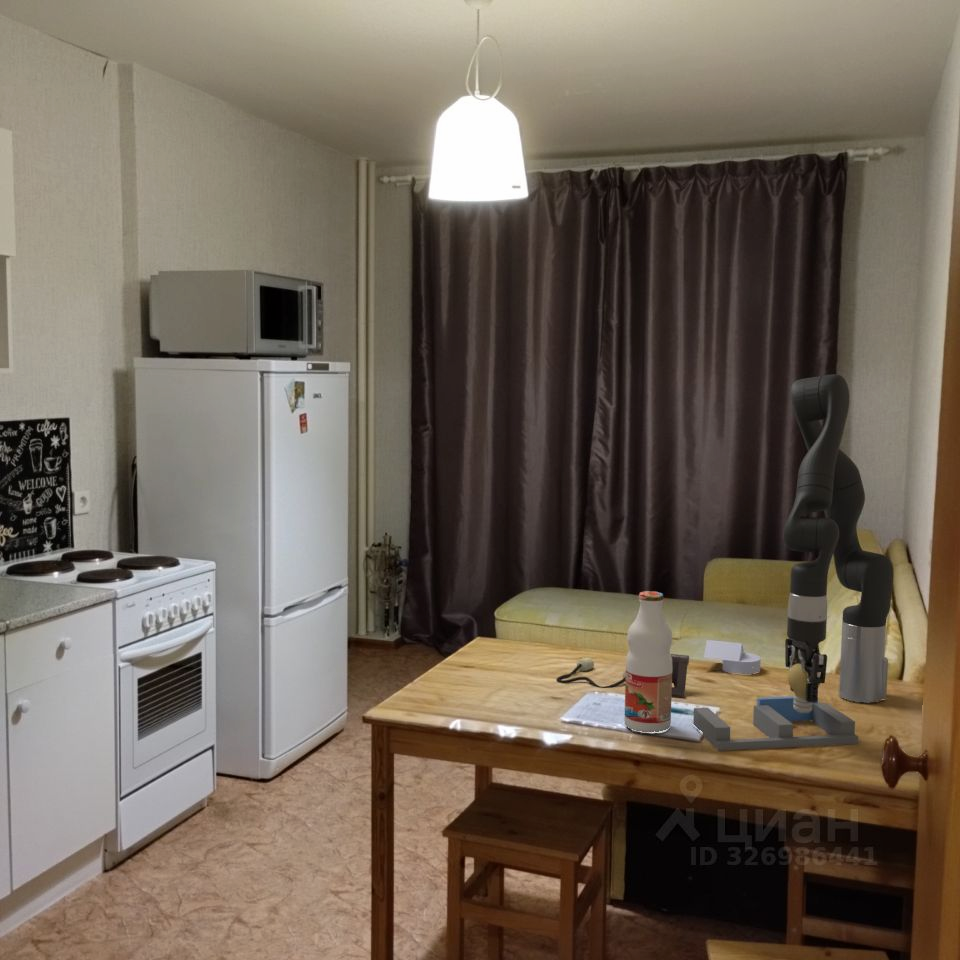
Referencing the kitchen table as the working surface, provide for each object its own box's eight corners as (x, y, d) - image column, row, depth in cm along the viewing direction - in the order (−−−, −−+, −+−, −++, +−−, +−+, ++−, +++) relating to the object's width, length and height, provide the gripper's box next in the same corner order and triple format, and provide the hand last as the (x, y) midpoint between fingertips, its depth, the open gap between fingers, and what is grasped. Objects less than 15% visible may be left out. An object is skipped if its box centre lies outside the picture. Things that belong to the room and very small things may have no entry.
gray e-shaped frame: (821, 718, 222) (822, 695, 222) (857, 743, 207) (859, 719, 207) (690, 723, 218) (690, 700, 217) (717, 750, 203) (718, 725, 202)
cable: (608, 696, 237) (609, 681, 237) (549, 682, 247) (549, 668, 247) (643, 680, 249) (643, 666, 249) (585, 668, 259) (585, 654, 259)
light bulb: (820, 717, 209) (823, 668, 208) (787, 715, 210) (789, 666, 209) (817, 707, 215) (819, 660, 214) (785, 705, 217) (787, 657, 216)
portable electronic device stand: (644, 694, 238) (645, 658, 237) (650, 684, 245) (651, 649, 244) (683, 698, 235) (684, 662, 234) (688, 688, 242) (690, 653, 241)
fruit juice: (678, 733, 212) (682, 597, 209) (634, 736, 210) (638, 599, 207) (659, 718, 221) (663, 587, 218) (617, 721, 219) (620, 589, 216)
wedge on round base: (702, 671, 256) (757, 677, 251) (703, 644, 255) (758, 650, 251) (709, 661, 265) (762, 667, 260) (710, 635, 264) (763, 641, 259)
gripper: (842, 623, 204) (838, 707, 206) (808, 607, 218) (804, 685, 220) (805, 624, 203) (802, 708, 205) (774, 607, 217) (771, 686, 219)
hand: (803, 696), depth 213 cm, fingers closed on light bulb, 6 cm apart
